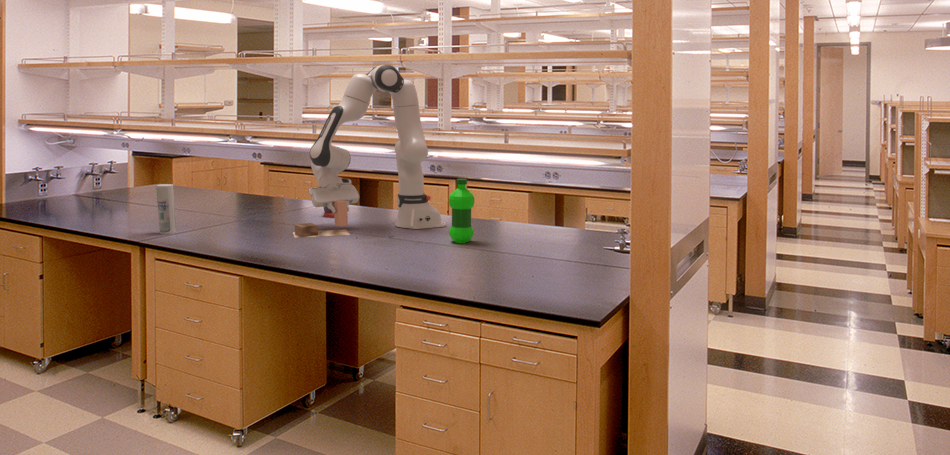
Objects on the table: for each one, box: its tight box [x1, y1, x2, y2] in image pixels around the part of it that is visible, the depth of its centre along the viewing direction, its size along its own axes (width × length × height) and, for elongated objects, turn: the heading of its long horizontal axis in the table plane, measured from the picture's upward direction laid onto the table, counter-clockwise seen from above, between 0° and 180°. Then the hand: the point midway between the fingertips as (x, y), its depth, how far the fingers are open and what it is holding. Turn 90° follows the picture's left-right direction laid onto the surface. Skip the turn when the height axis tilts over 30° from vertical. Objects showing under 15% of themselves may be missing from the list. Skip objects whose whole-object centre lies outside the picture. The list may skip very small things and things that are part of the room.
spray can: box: [155, 183, 177, 235], centre depth 290 cm, size 6×6×20 cm
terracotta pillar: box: [334, 200, 349, 227], centre depth 292 cm, size 4×4×10 cm
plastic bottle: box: [448, 178, 475, 244], centre depth 278 cm, size 10×10×25 cm
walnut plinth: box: [294, 222, 319, 238], centre depth 285 cm, size 7×7×4 cm
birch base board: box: [292, 229, 351, 239], centre depth 288 cm, size 22×12×1 cm, turn 108°
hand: (341, 211), depth 291 cm, fingers closed on terracotta pillar, 4 cm apart
